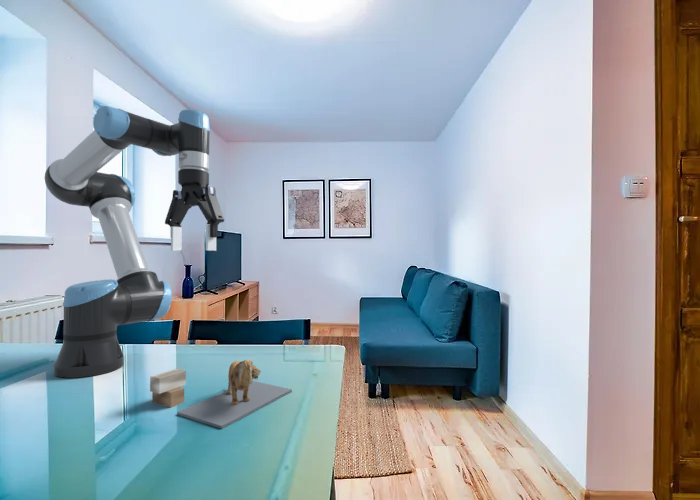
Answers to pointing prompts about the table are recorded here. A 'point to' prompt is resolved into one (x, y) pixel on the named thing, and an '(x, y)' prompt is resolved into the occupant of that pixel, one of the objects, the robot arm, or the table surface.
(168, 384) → the brick stack
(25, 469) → the table surface
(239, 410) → the gray mat
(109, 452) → the table surface
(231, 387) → the lion figurine
